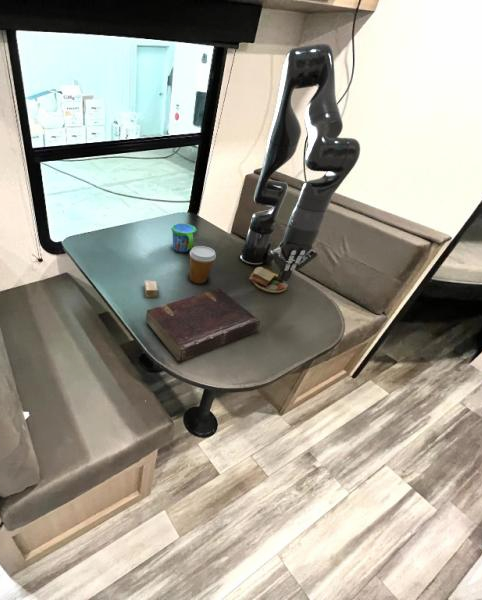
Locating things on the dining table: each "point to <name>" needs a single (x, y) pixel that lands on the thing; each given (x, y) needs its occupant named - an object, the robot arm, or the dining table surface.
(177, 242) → the snack cup
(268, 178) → the robot arm
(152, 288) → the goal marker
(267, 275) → the toy sandwich meal
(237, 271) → the dining table surface
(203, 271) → the disposable coffee cup
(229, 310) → the hardback book
